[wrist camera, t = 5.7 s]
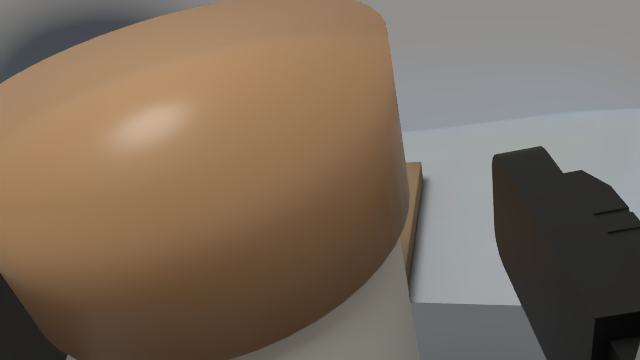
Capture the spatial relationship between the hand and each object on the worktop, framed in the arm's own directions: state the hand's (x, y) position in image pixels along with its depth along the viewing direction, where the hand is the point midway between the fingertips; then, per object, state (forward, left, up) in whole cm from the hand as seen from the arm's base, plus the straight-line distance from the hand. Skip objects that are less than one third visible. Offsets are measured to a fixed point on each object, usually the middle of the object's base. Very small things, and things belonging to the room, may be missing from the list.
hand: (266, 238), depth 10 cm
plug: (0, -2, -10) cm, 10 cm away
